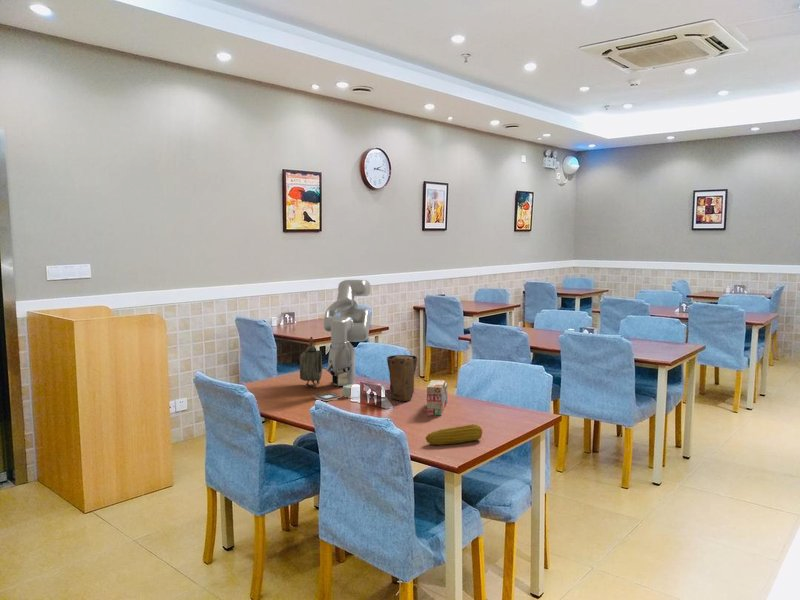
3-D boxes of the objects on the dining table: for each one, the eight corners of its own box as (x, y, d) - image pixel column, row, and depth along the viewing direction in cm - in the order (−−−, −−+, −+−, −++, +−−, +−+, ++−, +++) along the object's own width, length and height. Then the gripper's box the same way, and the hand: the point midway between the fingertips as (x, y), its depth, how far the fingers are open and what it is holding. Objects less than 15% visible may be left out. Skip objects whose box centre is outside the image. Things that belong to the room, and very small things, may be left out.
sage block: (342, 396, 273) (342, 386, 272) (351, 395, 276) (350, 384, 276) (349, 398, 269) (349, 388, 269) (357, 396, 272) (357, 386, 272)
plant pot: (382, 392, 281) (382, 359, 280) (392, 385, 295) (392, 354, 294) (412, 394, 277) (412, 361, 275) (421, 387, 291) (421, 355, 289)
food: (476, 437, 214) (476, 421, 213) (484, 442, 208) (484, 426, 208) (423, 444, 207) (423, 427, 206) (429, 449, 201) (429, 432, 201)
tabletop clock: (318, 389, 286) (317, 339, 284) (299, 389, 286) (298, 339, 284) (322, 383, 301) (321, 335, 299) (304, 383, 301) (303, 335, 299)
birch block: (332, 383, 279) (332, 372, 279) (340, 381, 283) (340, 371, 282) (339, 385, 276) (338, 374, 275) (347, 383, 279) (347, 372, 278)
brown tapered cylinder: (415, 399, 267) (415, 356, 266) (405, 402, 261) (405, 358, 260) (397, 395, 274) (397, 353, 272) (387, 399, 268) (386, 356, 266)
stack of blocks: (433, 402, 263) (433, 375, 262) (447, 402, 262) (447, 375, 261) (426, 415, 242) (426, 386, 241) (441, 416, 241) (441, 386, 240)
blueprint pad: (315, 398, 269) (315, 395, 269) (329, 395, 274) (329, 392, 274) (325, 402, 263) (325, 398, 263) (339, 398, 268) (339, 395, 268)
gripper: (348, 341, 285) (348, 377, 288) (319, 346, 274) (320, 384, 276) (358, 343, 280) (358, 380, 282) (329, 349, 268) (330, 387, 271)
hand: (339, 382), depth 279 cm, fingers closed on birch block, 5 cm apart
